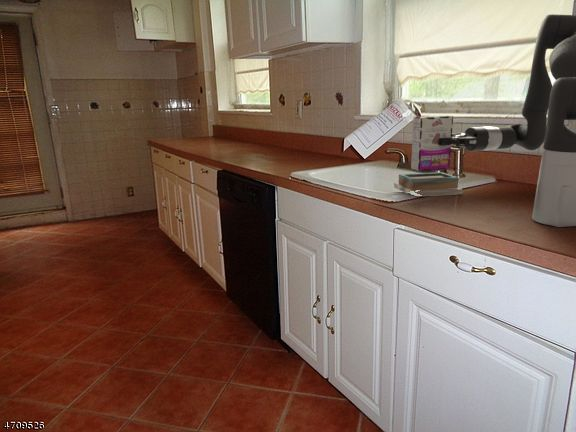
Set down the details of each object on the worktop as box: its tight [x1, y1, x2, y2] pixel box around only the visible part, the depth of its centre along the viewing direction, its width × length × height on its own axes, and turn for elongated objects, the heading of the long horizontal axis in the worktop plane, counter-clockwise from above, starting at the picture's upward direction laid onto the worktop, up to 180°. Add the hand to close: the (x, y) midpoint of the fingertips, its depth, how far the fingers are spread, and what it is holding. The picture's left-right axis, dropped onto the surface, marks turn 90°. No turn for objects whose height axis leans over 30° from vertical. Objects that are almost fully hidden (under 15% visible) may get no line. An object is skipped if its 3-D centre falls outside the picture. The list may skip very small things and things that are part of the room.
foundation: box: [393, 171, 464, 197], centre depth 136 cm, size 14×16×5 cm
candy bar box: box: [410, 114, 454, 172], centre depth 132 cm, size 11×5×16 cm, turn 105°
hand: (434, 140), depth 132 cm, fingers closed on candy bar box, 5 cm apart
